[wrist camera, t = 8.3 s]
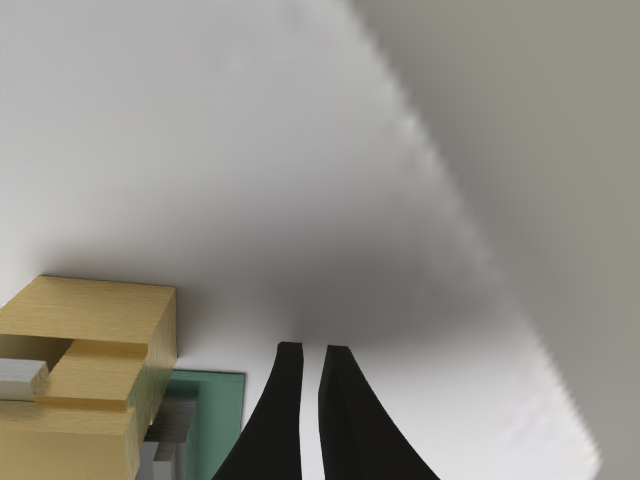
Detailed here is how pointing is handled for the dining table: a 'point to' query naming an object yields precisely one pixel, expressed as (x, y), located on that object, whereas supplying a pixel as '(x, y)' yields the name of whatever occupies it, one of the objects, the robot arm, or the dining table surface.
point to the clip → (86, 376)
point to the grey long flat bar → (21, 379)
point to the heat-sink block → (192, 427)
